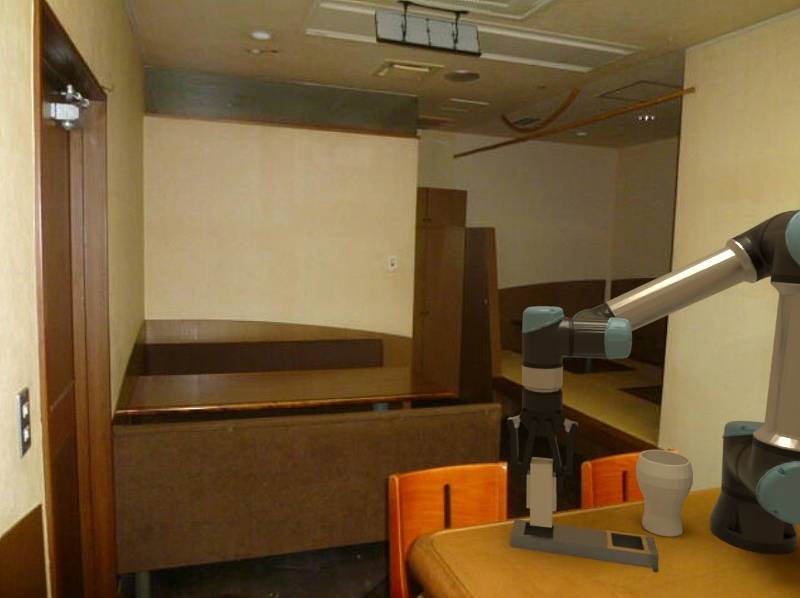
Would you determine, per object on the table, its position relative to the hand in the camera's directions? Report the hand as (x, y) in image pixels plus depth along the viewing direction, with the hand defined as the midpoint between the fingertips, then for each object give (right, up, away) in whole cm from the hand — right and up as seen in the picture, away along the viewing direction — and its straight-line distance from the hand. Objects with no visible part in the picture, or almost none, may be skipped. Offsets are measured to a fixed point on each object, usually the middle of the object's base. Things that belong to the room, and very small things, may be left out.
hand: (541, 506), depth 112 cm
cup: (+27, -8, +8) cm, 29 cm away
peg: (0, -3, 0) cm, 3 cm away
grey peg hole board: (+7, -8, -2) cm, 11 cm away
